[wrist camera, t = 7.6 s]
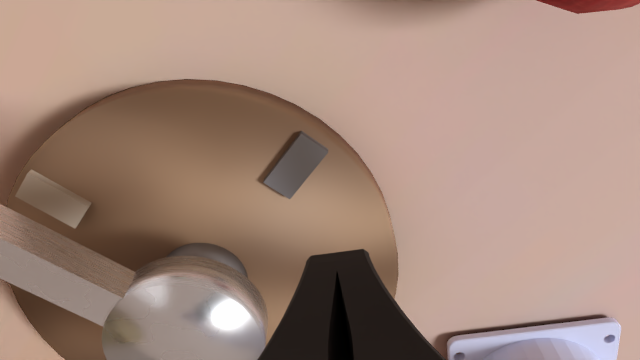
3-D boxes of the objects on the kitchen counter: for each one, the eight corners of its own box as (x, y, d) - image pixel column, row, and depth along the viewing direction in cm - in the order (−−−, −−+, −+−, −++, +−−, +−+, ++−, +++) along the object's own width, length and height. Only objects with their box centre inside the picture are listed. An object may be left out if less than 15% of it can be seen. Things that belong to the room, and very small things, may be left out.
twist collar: (297, 302, 20) (295, 342, 18) (220, 391, 22) (211, 434, 20) (-107, 85, 16) (-160, 108, 14) (-155, 218, 18) (-206, 253, 16)
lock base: (406, 368, 27) (418, 429, 23) (95, 404, 27) (67, 468, 24) (374, 49, 19) (386, 76, 16) (-48, 112, 20) (-114, 150, 17)
